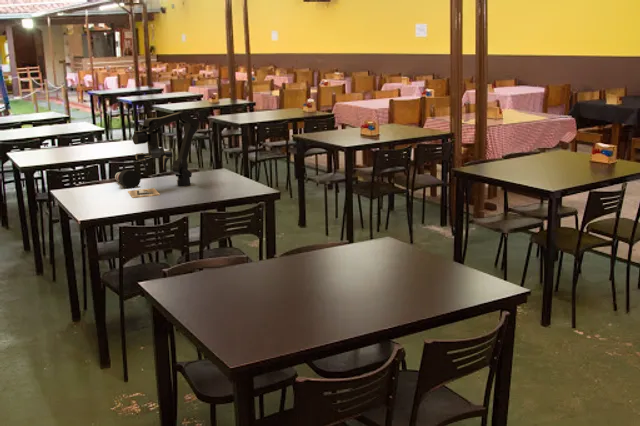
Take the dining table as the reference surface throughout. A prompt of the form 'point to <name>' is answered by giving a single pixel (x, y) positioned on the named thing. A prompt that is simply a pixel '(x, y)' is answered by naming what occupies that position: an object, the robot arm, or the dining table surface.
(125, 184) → the black cylinder
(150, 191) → the board
